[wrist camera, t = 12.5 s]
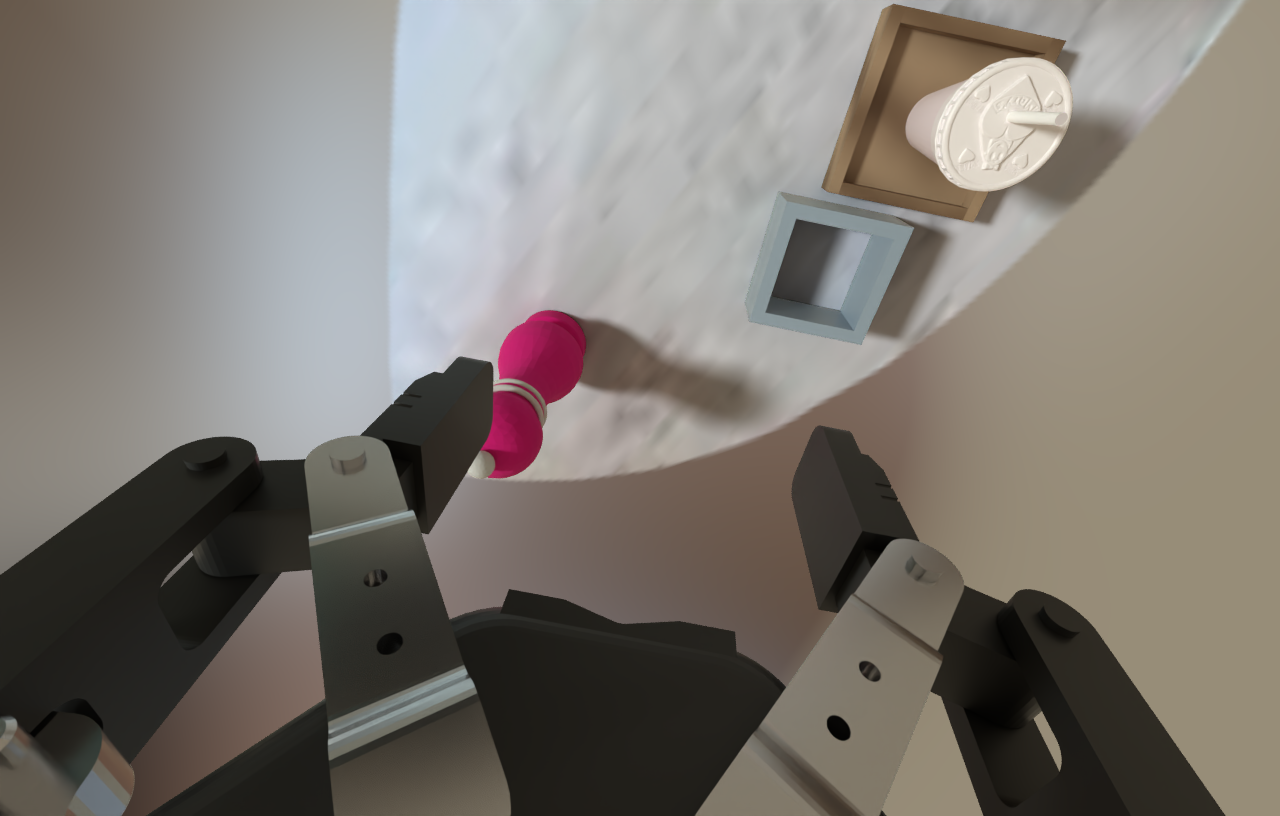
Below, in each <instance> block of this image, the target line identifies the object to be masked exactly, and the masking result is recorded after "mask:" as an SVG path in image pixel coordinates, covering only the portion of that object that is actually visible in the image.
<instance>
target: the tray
mask: <svg viewBox="0 0 1280 816" xmlns="http://www.w3.org/2000/svg"><path fill="white" fill-rule="evenodd" d="M1065 42H1066V41H1064V40H1060V39H1055V38H1050V37H1046V36H1041V35H1036V34H1032V33H1027V32H1022V31H1018V30H1013V29H1008V28H1004V27H999V26H994V25H990V24H985V23H980V22H976V21H971V20H966V19H962V18H957V17H952V16H948V15H943V14H938V13H934V12H929V11H924V10H920V9H915V8H910V7H906V6H901V5H896V4H893V5H891V6H888V7H886V8H884V9H883V10H882V12H881V15H880V18H879V21H878V24H877V27H876V30H875V33H874V36H873V39H872V42H871V44H870V47H869V50H868V53H867V56H866V59H865V62H864V65H863V68H862V71H861V74H860V76H859V79H858V82H857V85H856V88H855V91H854V94H853V97H852V100H851V103H850V106H849V108H848V111H847V114H846V117H845V120H844V123H843V126H842V129H841V132H840V135H839V138H838V140H837V143H836V146H835V149H834V152H833V155H832V158H831V161H830V164H829V167H828V170H827V172H826V175H825V178H824V181H823V184H822V187H821V188H823V189H824V190H826V191H827V192H831V193H836V194H840V195H845V196H850V197H855V198H859V199H864V200H869V201H874V202H878V203H883V204H888V205H893V206H898V207H902V208H907V209H912V210H917V211H921V212H926V213H931V214H936V215H941V216H945V217H950V218H955V219H960V220H964V221H969V222H974V220H975V218H976V216H977V214H978V212H979V210H980V208H981V206H982V204H983V202H984V200H985V198H986V196H987V194H988V193H989V191H973V190H969V189H964V188H960V187H958V186H957V185H955V184H953V183H952V182H950V181H949V180H948V179H947V178H946V177H945V176H944V174H943V173H942V172H941V170H940V169H939V166H938V165H937V164H936V163H935V162H933V161H932V160H930V159H929V158H928V157H926V156H925V155H923V154H922V153H921V152H919V151H918V150H916V149H915V148H914V147H912V146H911V145H910V143H909V142H908V140H907V137H906V122H907V119H908V116H909V114H910V112H911V110H912V109H913V107H914V106H915V105H916V103H917V102H918V101H920V100H921V99H922V98H923V97H925V96H926V95H928V94H930V93H933V92H935V91H938V90H941V89H943V88H946V87H949V86H951V85H954V84H957V83H959V82H962V81H965V80H967V79H969V78H970V77H971V76H972V75H974V74H976V73H977V72H979V71H980V70H982V69H984V68H985V67H987V66H988V65H991V64H993V63H996V62H999V61H1002V60H1005V59H1008V58H1021V57H1026V58H1027V57H1029V58H1040V59H1044V60H1047V61H1049V62H1051V63H1053V64H1054V63H1055V61H1056V60H1057V58H1058V56H1059V54H1060V52H1061V50H1062V48H1063V46H1064V44H1065Z"/></svg>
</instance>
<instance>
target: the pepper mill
mask: <svg viewBox="0 0 1280 816" xmlns="http://www.w3.org/2000/svg"><path fill="white" fill-rule="evenodd" d="M585 349H586V339H585V336H584V333H583V331H582V329H581V327H580V326H579V325H578V323H577V322H576V321H575V320H573V319H572V318H571V317H569V316H568V315H566V314H564V313H561V312H558V311H551V310H547V311H541V312H538V313H536V314H534V315H532V316H531V317H530V318H528V319H527V321H526V322H525V323H523V324H521V325H519V326H517V327H516V328H514V329H513V330H512V331H511V332H510V333H509V334H508V336H507V337H506V339H505V341H504V342H503V344H502V347H501V349H500V354H499V359H498V368H499V374H500V377H499V380H496V381H494V382H493V421H492V426H491V430H490V434H489V436H488V438H487V440H486V442H485V444H484V445H483V447H482V449H481V450H480V452H479V453H478V455H477V457H476V458H475V460H474V462H473V463H472V465H471V466H470V468H469V470H468V471H467V472H468V473H469V474H470V475H471V476H472V477H474V478H478V479H483V478H486V477H488V478H507V477H510V476H513V475H516V474H518V473H520V472H522V471H524V470H525V469H526V468H527V467H528V466H529V465H530V464H531V463H532V462H533V461H534V460H535V458H536V457H537V455H538V453H539V451H540V448H541V445H542V440H543V431H542V428H543V425H544V424H545V421H546V418H547V407H546V406H547V404H549V403H552V402H555V401H557V400H559V399H561V398H563V397H564V396H565V395H567V394H568V393H569V392H571V390H572V389H573V388H574V387H575V385H576V384H577V382H578V380H579V379H580V377H581V374H582V370H583V356H584V354H585Z"/></svg>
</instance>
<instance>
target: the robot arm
mask: <svg viewBox="0 0 1280 816" xmlns="http://www.w3.org/2000/svg"><path fill="white" fill-rule="evenodd" d="M492 421H493V366H492V363H491V362H487V361H482V360H477V359H472V358H466V357H458V358H457V359H456V360H455V361H454V362H453V363H452V364H451V365H450V366H449V368H448V369H447V370H446V371H445V372H444V373H438V372H433V373H431V374H428V375H426V376H424V377H422V378H420V379H417V380H415V381H414V382H413V383H412V384H411V385H410V386H409V387H408V388H407V389H406V390H405V391H404V394H403V395H400V396H399V397H398V398H397V399H396V400H395V401H394V404H393V405H392V404H391V405H390V406H389V407H388V408H387V409H386V410H385V411H384V412H383V413H382V414H381V415H380V416H379V417H378V418H377V419H376V420H375V421H374V422H373V423H372V424H371V425H370V426H369V427H368V428H367V429H366V430H365V431H364V432H363V433H362V434H361V435H360V436H347V437H341V438H337V439H334V440H330V441H328V442H326V443H323V444H321V445H320V446H318V447H316V448H315V449H314V450H313V451H311V452H310V454H309V455H308V456H307V458H306V459H303V460H271V461H259V458H258V454H257V451H256V448H255V447H254V445H253V444H252V443H250V442H249V441H247V440H244V439H241V438H236V437H212V438H206V439H202V440H197V441H194V442H191V443H188V444H185V445H182V446H180V447H178V448H176V449H174V450H172V451H171V452H169V453H167V454H166V455H164V456H163V457H162V458H161V459H159V460H158V461H156V462H155V463H154V464H152V465H151V466H149V467H148V468H147V469H145V470H144V471H142V472H141V473H140V474H138V475H137V476H136V477H134V478H133V479H131V480H130V481H129V482H128V483H126V484H125V485H123V486H122V487H120V488H119V489H118V490H116V491H115V492H114V493H112V494H111V495H110V496H108V497H107V498H105V499H104V500H103V501H101V502H100V503H99V504H97V505H96V506H94V507H93V508H92V509H91V510H89V511H88V512H86V513H85V514H83V515H82V516H81V517H79V518H78V519H77V520H75V521H74V522H73V523H71V524H70V525H68V526H67V527H66V528H64V529H63V530H61V531H60V532H59V533H57V534H56V535H55V536H53V537H52V538H51V539H49V540H48V541H46V542H45V543H44V544H42V545H41V546H40V547H38V548H37V549H35V550H34V551H33V552H31V553H30V554H29V555H27V556H26V557H25V558H23V559H22V560H20V561H19V562H18V563H16V564H15V565H14V566H12V567H11V568H10V569H8V570H7V571H5V572H4V573H2V574H1V575H0V816H121V815H122V814H123V812H124V811H125V809H126V807H127V805H128V803H129V800H130V798H131V795H132V792H133V788H134V773H133V769H132V767H131V766H130V763H131V762H132V761H133V759H134V758H135V757H136V756H137V754H138V753H139V752H140V751H141V749H142V748H143V747H144V745H145V744H146V743H147V742H148V740H149V739H150V738H151V737H152V735H153V734H154V733H155V732H156V730H157V729H158V728H159V727H160V725H161V724H162V723H163V721H164V720H165V719H166V718H167V716H168V715H169V714H170V713H171V711H172V710H173V709H174V708H175V706H176V705H177V704H178V702H179V701H180V700H181V699H182V698H183V696H184V695H185V694H186V693H187V691H188V690H189V689H190V687H191V686H192V685H193V684H194V682H195V681H196V680H197V679H198V677H199V676H200V675H201V674H202V672H203V671H204V670H205V669H206V667H207V666H208V665H209V664H210V662H211V661H212V660H213V658H214V657H215V656H216V655H217V653H218V652H219V651H220V650H221V648H222V647H223V646H224V645H225V643H226V642H227V641H228V640H229V638H230V637H231V636H232V634H233V633H234V632H235V630H236V629H237V628H238V627H239V625H240V624H241V623H242V622H243V621H244V619H245V618H246V617H247V616H248V614H249V613H250V612H251V610H252V609H253V608H254V607H255V605H256V604H257V603H258V602H259V600H260V599H261V598H262V597H263V595H264V594H265V593H266V591H267V590H268V589H269V588H270V586H271V585H272V584H273V583H274V581H275V580H276V579H277V578H278V576H279V575H280V574H281V573H282V572H289V571H301V570H312V576H313V585H314V595H315V603H316V613H317V622H318V632H319V641H320V651H321V660H322V670H323V678H324V687H325V699H324V700H322V701H321V702H319V703H318V704H316V705H315V706H313V707H312V708H310V709H308V710H307V711H305V712H304V713H303V714H301V715H300V716H298V717H296V718H295V719H293V720H292V721H290V722H289V723H287V724H286V725H284V726H282V727H281V728H279V729H278V730H276V731H275V732H273V733H272V734H270V735H269V736H267V737H266V738H264V739H263V740H261V741H259V742H258V743H257V744H255V745H254V746H252V747H250V748H249V749H247V750H246V751H244V752H243V753H241V754H240V755H238V756H237V757H235V758H234V759H232V760H230V761H229V762H227V763H226V764H224V765H223V766H221V767H220V768H218V769H217V770H215V771H214V772H212V773H211V774H209V775H207V776H206V777H204V778H203V779H201V780H200V781H198V782H197V783H195V784H194V785H192V786H191V787H189V788H188V789H186V790H184V791H183V792H181V793H180V794H179V795H177V796H175V797H174V798H172V799H171V800H169V801H168V802H166V803H165V804H163V805H162V806H160V807H158V808H157V809H156V810H154V811H152V812H151V813H149V814H148V815H146V816H886V815H885V814H884V812H883V811H882V808H883V805H884V803H885V800H886V798H887V795H888V793H889V791H890V788H891V786H892V783H893V781H894V778H895V776H896V773H897V771H898V768H899V766H900V764H901V761H902V759H903V756H904V754H905V752H906V749H907V747H908V744H909V742H910V739H911V737H912V734H913V732H914V730H915V727H916V725H917V722H918V720H919V717H920V715H921V712H922V710H923V708H924V705H925V703H926V700H927V698H928V695H929V693H930V691H931V692H933V693H935V694H937V695H939V696H941V697H942V700H943V703H944V706H945V709H946V712H947V714H948V717H949V720H950V723H951V726H952V729H953V731H954V734H955V737H956V740H957V742H958V745H959V748H960V751H961V754H962V756H963V759H964V762H965V765H966V768H967V771H968V773H969V776H970V779H971V782H972V785H973V788H974V790H975V793H976V796H977V799H978V802H979V805H980V807H981V810H982V813H983V816H1225V814H1224V813H1223V812H1222V810H1221V809H1220V807H1219V806H1218V804H1217V803H1216V801H1215V800H1214V799H1213V797H1212V796H1211V794H1210V793H1209V791H1208V790H1207V789H1206V788H1205V786H1204V784H1203V783H1202V781H1201V780H1200V779H1199V777H1198V776H1197V774H1196V773H1195V771H1194V770H1193V768H1192V767H1191V766H1190V764H1189V763H1188V761H1187V760H1186V758H1185V757H1184V756H1183V754H1182V753H1181V751H1180V750H1179V748H1178V747H1177V746H1176V744H1175V743H1174V741H1173V740H1172V738H1171V737H1170V736H1169V734H1168V733H1167V731H1166V730H1165V728H1164V727H1163V725H1162V724H1161V723H1160V721H1159V720H1158V718H1157V717H1156V715H1155V714H1154V712H1153V711H1152V710H1151V708H1150V707H1149V705H1148V704H1147V702H1146V701H1145V700H1144V698H1143V697H1142V696H1141V694H1140V692H1139V691H1138V690H1137V688H1136V687H1135V685H1134V684H1133V683H1132V681H1131V679H1130V678H1129V677H1128V675H1127V674H1126V672H1125V671H1124V669H1123V668H1122V667H1121V665H1120V664H1119V662H1118V661H1117V659H1116V658H1115V657H1114V655H1113V654H1112V652H1111V651H1110V649H1109V648H1108V646H1107V645H1106V644H1105V642H1104V641H1103V640H1102V638H1101V636H1100V635H1099V634H1098V632H1097V631H1096V630H1095V628H1094V627H1093V626H1092V625H1091V624H1090V623H1089V622H1088V621H1087V619H1085V618H1084V617H1083V616H1082V615H1081V614H1080V613H1078V612H1077V611H1076V610H1075V609H1073V608H1072V607H1070V606H1069V605H1068V604H1066V603H1064V602H1063V601H1061V600H1059V599H1057V598H1055V597H1053V596H1051V595H1049V594H1046V593H1044V592H1040V591H1036V590H1031V589H1028V590H1027V589H1025V590H1020V591H1018V592H1016V593H1015V595H1014V596H1013V597H1012V598H1011V599H1010V600H1009V601H1008V603H1004V602H1002V601H999V600H997V599H995V598H992V597H990V596H988V595H985V594H983V593H981V592H978V591H976V590H973V589H971V588H969V587H967V586H965V585H964V581H963V578H962V576H961V574H960V572H959V571H958V569H957V568H956V566H955V565H954V564H953V563H952V562H951V561H950V560H949V559H948V558H947V557H946V556H944V555H943V554H942V553H940V552H939V551H937V550H936V549H934V548H932V547H930V546H928V545H926V544H924V543H921V542H919V540H918V538H917V536H916V534H915V532H914V530H913V528H912V526H911V524H910V522H909V520H908V518H907V516H906V514H905V512H904V510H903V508H902V506H901V504H900V502H898V501H897V499H898V498H897V496H896V494H895V492H894V490H893V489H891V484H890V482H889V480H888V478H887V476H886V475H885V472H884V470H883V469H882V468H881V467H880V466H878V465H877V463H876V462H875V461H874V460H873V459H872V458H870V457H869V455H864V454H861V452H860V450H859V448H858V446H857V444H856V441H855V439H854V437H853V435H852V433H851V432H850V431H846V430H840V429H835V428H830V427H825V426H817V427H816V428H815V429H814V431H813V432H812V435H811V437H810V439H809V442H808V444H807V447H806V449H805V451H804V454H803V456H802V458H801V461H800V463H799V466H798V468H797V470H796V473H795V475H794V479H793V483H792V501H793V505H794V509H795V513H796V517H797V521H798V526H799V530H800V534H801V538H802V542H803V546H804V550H805V555H806V558H807V563H808V567H809V571H810V576H811V579H812V584H813V588H814V592H815V596H816V601H817V605H818V609H819V610H825V611H830V612H836V613H838V614H837V616H836V617H835V619H834V620H833V621H832V623H831V624H830V626H829V627H828V629H827V630H826V631H825V633H824V634H823V636H822V637H821V639H820V640H819V641H818V643H817V644H816V646H815V647H814V649H813V650H812V651H811V653H810V654H809V656H808V657H807V659H806V660H805V661H804V663H803V664H802V666H801V667H800V669H799V670H798V671H797V673H796V674H795V676H794V677H793V679H792V680H791V681H790V683H789V684H788V686H787V687H785V685H784V684H783V683H782V682H781V681H780V680H779V679H777V678H776V677H775V676H774V675H773V674H772V673H770V672H769V671H768V670H767V669H765V668H764V667H763V666H761V665H760V664H758V663H757V662H755V661H754V660H752V659H750V658H749V657H747V656H745V655H743V654H741V653H739V652H737V651H736V641H735V640H736V639H735V632H733V631H729V630H723V629H718V628H713V627H707V626H702V625H697V624H691V623H686V622H681V621H675V622H658V623H657V622H656V623H636V624H621V623H617V622H614V621H612V620H609V619H607V618H605V617H603V616H600V615H598V614H595V613H593V612H591V611H589V610H587V609H585V608H582V607H580V606H578V605H576V604H573V603H571V602H569V601H567V600H564V599H559V598H553V597H548V596H543V595H538V594H532V593H527V592H521V591H516V590H511V589H509V591H508V594H507V596H506V599H505V601H504V604H503V607H493V608H487V609H480V610H476V611H473V612H469V613H465V614H463V615H460V616H458V617H455V618H452V619H450V620H449V617H448V614H447V611H446V608H445V605H444V602H443V599H442V595H441V592H440V589H439V586H438V583H437V580H436V577H435V574H434V571H433V568H432V565H431V562H430V559H429V555H428V552H427V549H426V546H425V543H424V540H423V537H422V534H421V533H425V534H429V533H430V531H431V529H432V528H433V526H434V525H435V523H436V521H437V520H438V518H439V517H440V515H441V513H442V512H443V510H444V508H445V507H446V505H447V503H448V502H449V500H450V499H451V497H452V496H453V494H454V492H455V490H456V489H457V487H458V486H459V484H460V482H461V481H462V479H463V478H464V476H465V474H466V473H467V471H468V470H469V468H470V466H471V465H472V463H473V462H474V460H475V458H476V457H477V455H478V453H479V452H480V450H481V449H482V447H483V445H484V444H485V442H486V440H487V438H488V436H489V434H490V430H491V426H492ZM191 551H192V553H193V556H192V557H191V558H190V559H189V560H188V561H187V562H186V563H185V564H184V565H183V566H182V567H181V568H180V569H179V570H178V571H177V572H176V573H175V574H174V575H173V576H172V577H171V578H170V579H169V580H168V581H167V582H166V583H165V584H164V585H163V586H162V587H161V585H162V582H163V581H164V579H165V578H166V576H167V575H168V574H169V573H170V571H172V570H173V568H175V567H176V566H177V565H178V564H179V563H180V562H181V561H182V560H183V559H184V558H185V557H186V556H187V555H188V554H189V553H190V552H191ZM160 587H161V588H160ZM1041 711H1042V712H1043V714H1044V716H1045V718H1046V720H1047V722H1048V724H1049V726H1050V728H1051V730H1052V732H1053V733H1054V735H1055V737H1056V739H1057V742H1058V744H1059V746H1060V750H1061V756H1062V765H1061V770H1060V772H1059V770H1058V768H1057V766H1056V764H1055V762H1054V759H1053V757H1052V755H1051V753H1050V751H1049V749H1048V747H1047V745H1046V743H1045V741H1044V739H1043V737H1042V735H1041V733H1040V731H1039V729H1038V727H1037V725H1036V723H1035V721H1034V719H1033V718H1034V717H1035V716H1037V715H1038V714H1039V713H1040V712H1041Z"/></svg>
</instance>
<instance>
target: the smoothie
mask: <svg viewBox="0 0 1280 816" xmlns="http://www.w3.org/2000/svg"><path fill="white" fill-rule="evenodd" d="M1072 108H1073V96H1072V90H1071V86H1070V83H1069V81H1068V79H1067V77H1066V76H1065V74H1064V73H1063V72H1062V70H1061V69H1060V68H1058V67H1057V66H1056V65H1054V64H1053V63H1051V62H1049V61H1047V60H1044V59H1040V58H1029V57H1027V58H1026V57H1021V58H1008V59H1005V60H1002V61H999V62H996V63H993V64H991V65H988V66H987V67H985V68H984V69H982V70H980V71H979V72H977V73H976V74H974V75H972V76H971V77H970V78H969V79H967V80H965V81H962V82H959V83H957V84H954V85H951V86H949V87H946V88H943V89H941V90H938V91H935V92H933V93H930V94H928V95H926V96H925V97H923V98H922V99H921V100H920V101H918V102H917V103H916V105H915V106H914V107H913V109H912V110H911V112H910V114H909V116H908V119H907V122H906V137H907V140H908V142H909V143H910V145H911V146H912V147H914V148H915V149H916V150H918V151H919V152H921V153H922V154H923V155H925V156H926V157H928V158H929V159H930V160H932V161H933V162H935V163H936V164H937V165H938V166H939V169H940V170H941V172H942V173H943V174H944V176H945V177H946V178H947V179H948V180H949V181H950V182H952V183H953V184H955V185H957V186H958V187H960V188H964V189H969V190H973V191H995V190H1000V189H1004V188H1007V187H1010V186H1012V185H1015V184H1017V183H1019V182H1021V181H1023V180H1024V179H1026V178H1028V177H1029V176H1030V175H1032V174H1033V173H1035V172H1036V171H1037V170H1038V169H1039V168H1040V167H1041V166H1043V165H1044V164H1045V163H1046V162H1047V160H1048V159H1049V158H1050V157H1051V156H1052V155H1053V153H1054V152H1055V151H1056V149H1057V148H1058V146H1059V145H1060V143H1061V141H1062V140H1063V138H1064V136H1065V134H1066V131H1067V129H1068V126H1069V123H1070V120H1071V115H1072Z"/></svg>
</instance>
